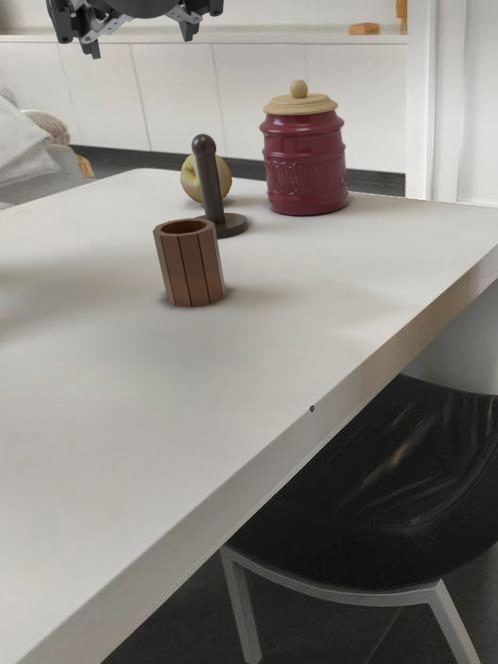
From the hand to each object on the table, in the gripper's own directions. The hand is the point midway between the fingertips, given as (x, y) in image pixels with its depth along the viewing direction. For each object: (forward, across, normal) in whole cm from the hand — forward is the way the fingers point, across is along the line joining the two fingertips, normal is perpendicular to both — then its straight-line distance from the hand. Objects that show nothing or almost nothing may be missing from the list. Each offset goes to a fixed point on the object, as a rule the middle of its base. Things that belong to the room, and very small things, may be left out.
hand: (139, 39), depth 63 cm
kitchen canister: (+42, -23, +11) cm, 49 cm away
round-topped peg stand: (+36, -7, +12) cm, 39 cm away
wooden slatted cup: (+12, +2, +23) cm, 26 cm away
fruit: (+50, -9, +5) cm, 51 cm away
